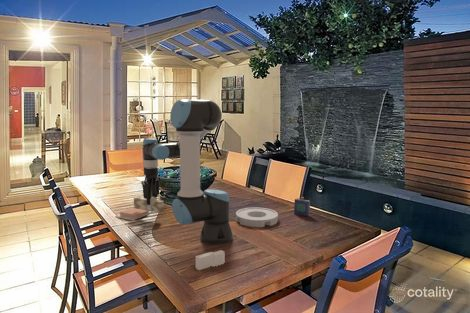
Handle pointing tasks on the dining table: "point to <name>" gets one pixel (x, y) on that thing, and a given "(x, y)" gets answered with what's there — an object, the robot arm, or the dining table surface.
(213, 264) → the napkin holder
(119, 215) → the mat
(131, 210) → the tile
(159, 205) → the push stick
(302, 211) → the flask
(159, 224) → the dining table surface
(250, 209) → the ashtray
